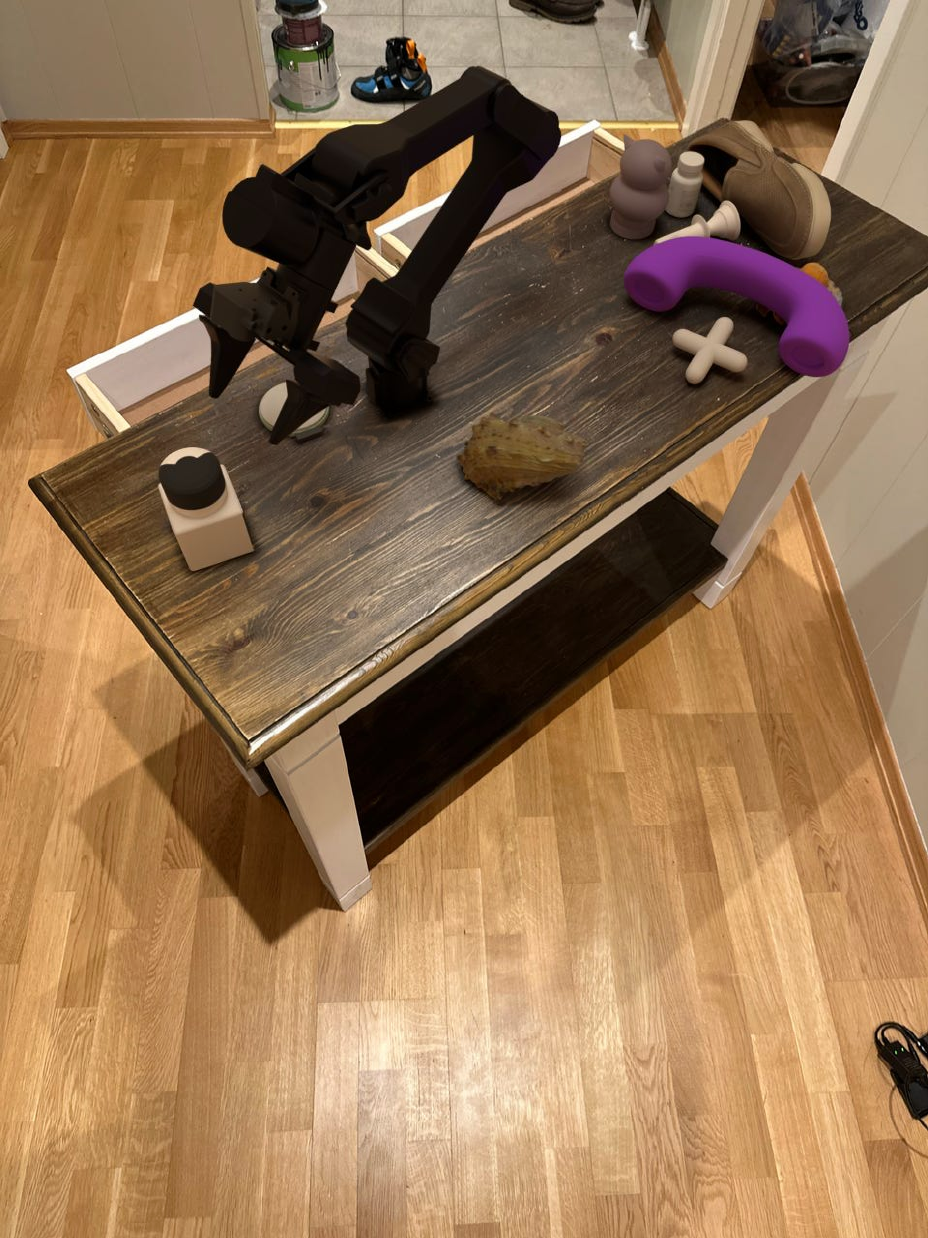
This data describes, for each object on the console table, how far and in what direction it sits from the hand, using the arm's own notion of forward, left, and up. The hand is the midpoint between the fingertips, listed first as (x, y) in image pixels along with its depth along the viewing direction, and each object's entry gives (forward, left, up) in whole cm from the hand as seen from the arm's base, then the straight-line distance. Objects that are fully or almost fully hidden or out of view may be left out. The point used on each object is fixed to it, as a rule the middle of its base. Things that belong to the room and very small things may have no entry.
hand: (242, 420), depth 88 cm
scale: (-8, -11, -12) cm, 18 cm away
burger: (-76, +1, -12) cm, 77 cm away
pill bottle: (-74, -23, -13) cm, 78 cm away
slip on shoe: (-84, -14, -7) cm, 86 cm away
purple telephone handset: (-65, -6, -1) cm, 65 cm away
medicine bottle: (+7, +3, -13) cm, 15 cm away
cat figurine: (-65, -22, -13) cm, 70 cm away
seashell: (-27, +10, -13) cm, 32 cm away
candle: (-76, -14, -9) cm, 77 cm away
